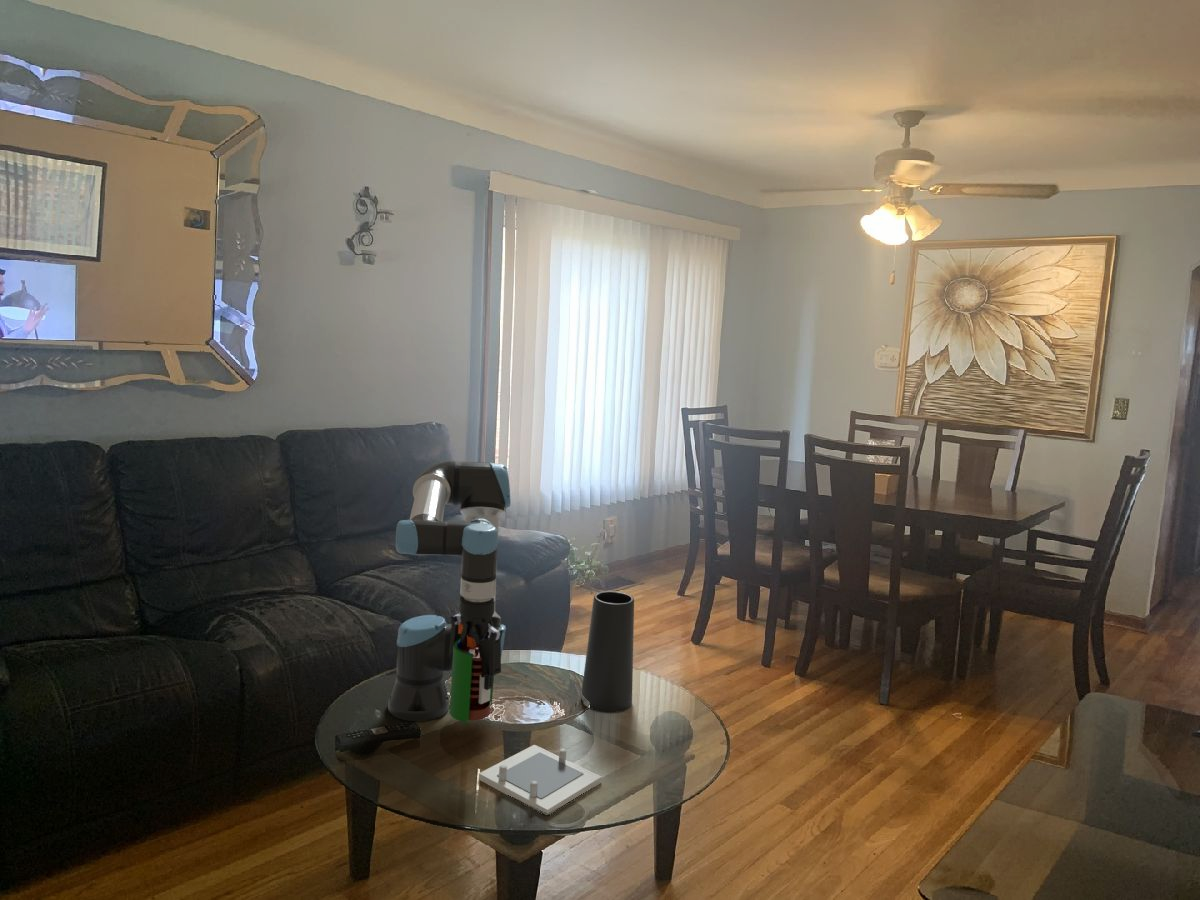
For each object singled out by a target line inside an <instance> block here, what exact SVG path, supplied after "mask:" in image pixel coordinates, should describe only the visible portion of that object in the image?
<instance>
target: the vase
mask: <svg viewBox="0 0 1200 900" xmlns="http://www.w3.org/2000/svg"><path fill="white" fill-rule="evenodd" d="M634 628H635V598H634V597H633V596H631V595H630V594H627V593H625V592H620V591H613V590H612V591H610V590H609V591H600V592H597V593H596V594H594V596H593V600H592V607H591V615H590V624H589V632H588V641H587V647H586V655H585V663H584V671H583V676H582V677H583V679H582V685H581V687H582V688H581V693H582V695H583V696H584V697H585V698H586V699H587V700H588V701H589V702H590V709H589V710H591V711H593V712H594V711H595V712H597V713H603V714H604V713H605V714H617V713H621V712H624V711H627V710H629V709H630V708H631V707H632V705H633V681H634V679H633V677H634V675H633V674H634V673H633V672H634V638H635V637H634V631H635V629H634Z"/></svg>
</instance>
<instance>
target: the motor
mask: <svg viewBox="0 0 1200 900" xmlns="http://www.w3.org/2000/svg"><path fill="white" fill-rule="evenodd" d="M462 630H463V624H462V623H461V624H459V629H458V634H461V633H462ZM483 639H485V638H483ZM483 639H480V640H483ZM460 640H461V638H460V639H458V640H457V641H455V642H454V646H453V662H452V671H451V683H450V697H449V710H448V711H449V715H450V716H451V717H452V718H453V719H454V720H456V721H459V722H460V723H465V724H468V723H469V721H480V720H483V719H486V718H488V717H489V716H490V714H491V709H492V705H493V696H494V695H493V694H494V693H493V691H494V685H493V686H492V688H491V690H490V700H489V701H487V702H485V703H483V704H479V685H480V675H481V674H483V671H482V666H481V659H482V658H481V657H480V655H479V649H478V645H476V643H475V639H474V638H473V637H468V635H467V647H470V648H468V649H466V650H464V649H461V650H460V649H459V646H460ZM488 669H489V668H488ZM494 678H495V675H494V676H493V682H494Z"/></svg>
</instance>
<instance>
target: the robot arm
mask: <svg viewBox="0 0 1200 900" xmlns="http://www.w3.org/2000/svg"><path fill="white" fill-rule="evenodd" d="M509 476H510V475H509V470H508V468H507V466H506V465H504V464H503V463H495V462H491V461H487V462H484V461H482V462H480V461H456V460H447V461H442V462H438V463H435V464H434V465H431V466H430V467H427V468H426V469H425V470H424V471H422V472H421V473H420V474H419V475H418V476H417V478H416V479H415V482H414V484H413V487H412V496H413V498H414V499H413V504H412V507H411V510H410V511H411V512H410V517H409V519H405V520H404V519H401V520H399V521H398V522H397V524H396V529H395V550H396V552H397V553H399V554H404V555H410V556H422V555H423V556H449V557H450V556H451V557H453V556H454V557H461V573H460V591H459V593H460V597H459V610H458V611H459V612H458V613H457V614H454V615H451V616H450V622H451V623H447V621H446V619H445V618H444V617H443V616H440V615H436V614H424V615H420V616H418V615H417V616H414V617H411V618H410V619H407V620H405V621H404V622H403V623H401V624H400V625H399V627H398V631H397V640H396V646H397V651H396V653H397V656H396V677H395V682H394V685H393V688H392V691H391V694H390V695H389V697H388V702H387V704H388V705H387V710H388V713H389V714H390V715H391V716H393V717H394V718H396V719H399V720H402V721H407V722H427V721H433V720H435V719H438V718H441V717H443V716H444V715H445V714H446V713H447V712H448V711H449V710H450V697H449V694H448V691H447V688H446V684H445V681H444V672H452V662H453V646H454V642H455V641H457V640H458V639H460V638H461V640H460V646H459V649H460V650H461V649H464V650H466V649H468V648H470V647H467V635H468V637H473V638H474V639H475V643H476V645H478V649H479V655H480V657H481V658H482V659H481V666H482V671H483V674H481V675H480V685H479V704H483V703H485V702H487V701H489V700H490V690H491V688H492V686H493V687H494V681H493V676H494V677H495V676H497V675H498V674H501V672H502V655H503V654H502V653H503V649H504V643H505V637H506V636H505V635H506V629H507V627H506V625H504V624H503V623H501V620H502V619H501V616H500V615H499V614H498V613H497V612H496V589H497V569H498V568H497V567H498V551H499V550H498V549H499V548H498V547H499V544H500V543H499V520H500V518H502V517H503V516H504V515H505V513H506V512H505V510H506V509H508V508H510V506H511V487H510V486H511V485H510V478H509ZM445 505H448V506H449V505H452V506H460V510H459V511H460V514H461V515H462V516H463V517H464V518H465V521H464V522H463V521H444V512H445ZM461 623H462V624H463V630H462V633H461V634H458V629H459V624H461ZM483 638H485V639H483ZM480 639H483V640H480ZM488 668H489V669H488Z"/></svg>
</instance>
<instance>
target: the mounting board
mask: <svg viewBox="0 0 1200 900" xmlns="http://www.w3.org/2000/svg"><path fill="white" fill-rule="evenodd" d="M478 780H479V781H480V782H482V783H484V784H486V785H488V786H490V787H492V788H493V789H495V790H497V791H499V792H501V793H503V794H504V795H506V796H508V795H509V796H508V797H510V796H511V798H512V797H514V798H516V799H519V800H521V801H522V802H524V803H527V804H528V805H531V806H533V807H535V808H538V809H539V810H541V811H543V812H546V813H549V812H551V811H552V810H554V809H556V808H558V807H560V806H562V805H564V804H566V803H568V802H569V801H571V800H572V799H574V798H576V797H577V796H579V795H581V794H582V795H584V794H586V793H587V792H589V791H590V789H591V788H592V789H594V788H596V787H597V786H598V785H601V784H602V776H601V775H599V774H597V773H595V772H592V771H590V770H589V769H586V768H584V767H583V766H580V765H578V764H576V763H574V762H572V761H570V760H567V749H565V748H560V749H559V751H558V755H557V754H555V753H553V752H552V751H548V750H546V749H544V748H543V747H540V746H538V745H536V744H533V745H531V746H529V747H527V748H525V749H523V750H521V751H519V752H518V753H516V754H514V755H511V756H510V757H508V758H506V759H504V760H502V761H500V762H499V763H498V762H497V763H495V764H494V765H492V766H490V767H489V768H486V769H485V770H482V771H481V772H479V773H478ZM593 787H594V788H593ZM592 789H591V790H592ZM588 790H589V791H588ZM586 791H587V792H586ZM585 792H586V793H585ZM583 793H584V794H583ZM582 795H581V796H582ZM579 797H580V796H579ZM514 798H513V799H514ZM576 799H577V798H576ZM574 800H575V799H574ZM571 802H572V801H571ZM568 804H569V803H568ZM566 805H567V804H566Z"/></svg>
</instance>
